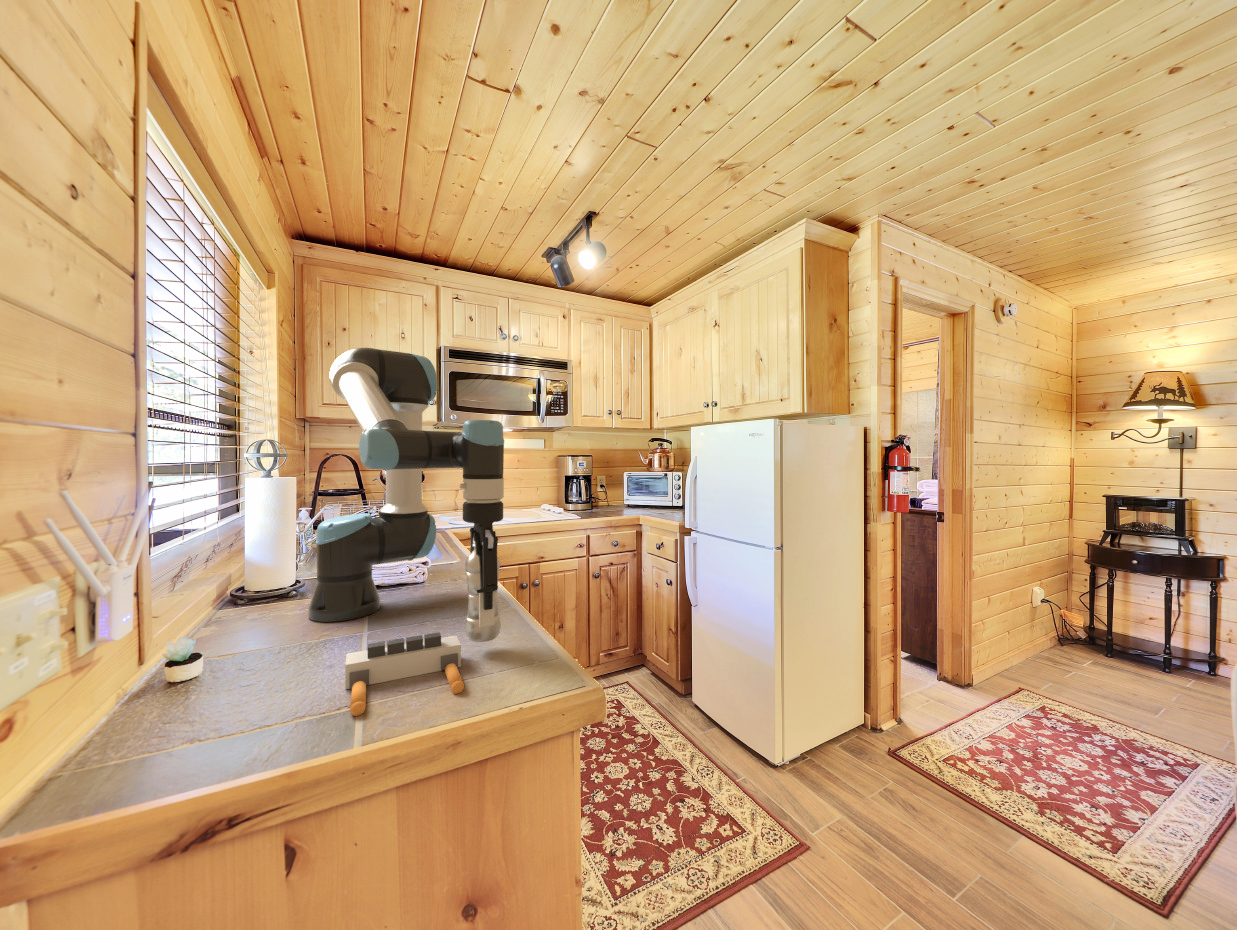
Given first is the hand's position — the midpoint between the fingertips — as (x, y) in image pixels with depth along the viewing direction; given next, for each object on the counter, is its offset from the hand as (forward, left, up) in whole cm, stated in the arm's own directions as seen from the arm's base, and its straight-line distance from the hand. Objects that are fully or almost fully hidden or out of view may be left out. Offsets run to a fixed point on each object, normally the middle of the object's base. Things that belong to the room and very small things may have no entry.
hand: (482, 619), depth 91 cm
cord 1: (+11, -21, -7) cm, 24 cm away
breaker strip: (+2, -14, -6) cm, 15 cm away
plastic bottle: (0, 0, -4) cm, 4 cm away
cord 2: (+11, -7, -7) cm, 14 cm away
